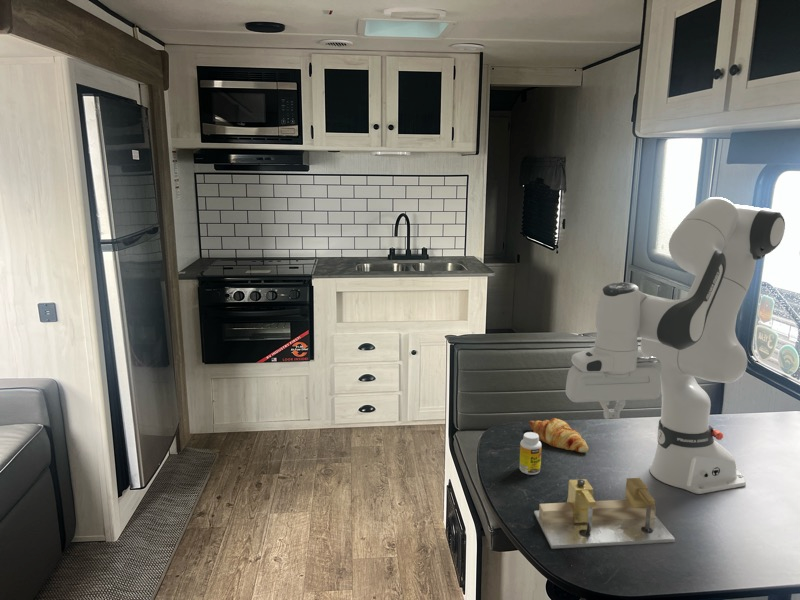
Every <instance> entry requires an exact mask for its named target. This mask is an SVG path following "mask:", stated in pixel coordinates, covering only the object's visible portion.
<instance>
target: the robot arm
mask: <svg viewBox="0 0 800 600" xmlns="http://www.w3.org/2000/svg"><path fill="white" fill-rule="evenodd" d="M785 229H786V222H785V218H784V216H783V214H782V213H781V212H779V211H778V210H774V209H771V208H767V207H763V208H762V207H756V206H755V207H754V206H750V205H742V204H741V205H740V204H734V203H733V202H731V201H730V200H728V199H727V198H725V197H724V198H723V197H719V196H718V197H717V196H715V197H709V198H706V199H704V200H702V202H700V203H698V204H697V205H696V206H695V207H694V208H693V209H692V210H691V211H690V212H689V213H688V214H687V215H685V217H684V218H683V220H682V221H681V222H680V223H679V224H678V226H677V227H676V228H675V230H674V231H673V232H672V234H671V236H670V238H669V241H668V251H669V255H670V257H671V259H672V260H673V262H674V263H675V264H676V265H677V266H678V267H679V268H680V269H682V270H683V271H685V272H688V274H689V273H690V274H691V275H693V276H695V277H694V280H693V282H692V284H691V286H690V289H689V290H688V292H687V295H686V296H685V297H683V298H680V299H671V298H666V297H662V296H661V297H660V296H657V295H656V296H655V295H651V294H647V293H644V292H642V291H640V289H639V286H637V284H634V283H632V282H625V281H624V282H623V281H622V282H614V283H613V282H612V283H609V284H607V285H605V286H603V287H602V289H601V290H600V294H599V296H598V301H597V304H596V305H597V306H596V313H595V314H596V315H595V328H596V337H595V340H594V346H592V347H590V348H587V349H584V350H581V351H578V352H576V353H575V352H574V353H573V354H572V355H571V362H572V364H573V365H571V367H570V368H569V369H568V372H567V376H566V383H565V395H566V396H567V398H568V399H569V400H570V401H571V402H573V403H591V402H593V403H594V402H595V403H596V402H598V403H599V404H600V406H601V409H603V418H604V419H606V420H616V419H620V415H621V414H620V413H621V412H622V410H623V409H624V408H625V406H626V403H627V401H639V400H642V401H643V400H657V399H658V398H659V397H660V396H661V411H660V413H661V414H660V419H659V421H658V426H657V446H656V450H655V453H654V457H653V460H652V462H651V465H650V467H649V472H650V474H651V475H652V476H653V477H654V478H655V479H657V481H660V482H662V483H664V484H667V485H670V486H672V487H676V488H680V489H683V490H686V491H688V492H691V493H693V494H697V495H699V494H701V495H702V494H706V493H713V492H718V491H719V492H720V491H723V490H729V489H735V488H740V487H745V486H746V482H747V481H746V480H747V479H746V478H745V476H744V474H743V473H741V471H740V470H739V469H738V468H737V464H736V460H735V458H734V456H733V455H732V453H730V452H729V450H727V449H726V448H725V447H724V446H722V445H721V444H720V443H719V442H717V441H716V440H718V441H720V440H723V439H724V433H722V431H720V430H718V429H714V427H712V426H711V425H710V416H711V415H710V414H711V405H712V403H711V399H710V396H709V395H708V393H707V392H706V391H705V390H704V389H703V388H702V387H701V386H700V385H699V384H698V382H697V380H696V379H695V378H699V379H701V380H704V381H708V382H712V383H713V382H715V383H723V384H732V383H735V382H736V381H738V380H739V379H740V378H741V377H742V376H743V375H744V374H745V372H746V370H747V367H748V356H747V355H748V354H747V353H746V350H745V348H744V347H743V345H742V344H741V343H740V341H739V340H738V337H737V334H736V333H737V332H736V319H737V316H738V314H739V313H740V310H741V306H742V304H743V301H744V300H745V297H746V295H747V293H748V291H749V288H750V286H751V283H752V281H753V277H754V274H755V270H756V265H757V261H758V260H761V259H763V258H764V257H765V256H766V255H768V254H770V253H771V252H772V251H773V252H774V250H775V249H776V248H777V247H778V246H779V245H780V244H781V242H782V241H783V240H782V239H783V237H784V236H785V235H784V234H785ZM638 338H641V340H640V351H641V354H642V356H641V357H640V356H638V353H639V342H638ZM613 401H614V402H616V403H615V405H614V407H613V408H609V407H608V406H610V402H613ZM714 438H715V439H716V440H715V439H714Z"/></svg>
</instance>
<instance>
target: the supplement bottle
mask: <svg viewBox="0 0 800 600" xmlns="http://www.w3.org/2000/svg"><path fill="white" fill-rule="evenodd" d="M522 438H523V439H521V441H520V442H519V470H520V471H521V473H523V474H526V475H532V476H533V475H537V474H539V473H540V472H541V468H542V467H541V466H542V449H543V448H542V446H543V445H542V442H541V440H540V439H539V435H538V434H536V433H534V432H533V431H527V432H525V433H524V434H523V437H522Z"/></svg>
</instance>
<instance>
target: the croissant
mask: <svg viewBox="0 0 800 600" xmlns="http://www.w3.org/2000/svg"><path fill="white" fill-rule="evenodd" d="M528 424H529V428H530V429H531V430H532V432H533V433H536V434H538V435H539V441H540V442H541V441H542V443H545V444H547V445H549V446H551V447H554V448H558V449H563V450H565V451H566V450H567V451H575V452H578V453H588V451H589V446H588V444H587V442H586V440H585V439H583V438H582V436H581V434H580V433H579V432H578V430H577V429H572V428H571V426H570V425H569V424H568V423H567V421H565V420H562V419H559V418H555V417H553V418H551V419H544V420H543V421H542V420H530V421H529V423H528Z"/></svg>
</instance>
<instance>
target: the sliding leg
mask: <svg viewBox="0 0 800 600" xmlns="http://www.w3.org/2000/svg"><path fill="white" fill-rule="evenodd" d="M596 501H597V500H595V498H594V488H593V487H592V485H591V483H590V482H589V481H588V479H587V478H585V479H584V478H583V479H582V478H580V479H569V480H568V493H567V501H566V503H567V502H570V504H571V505H572V507H573V508H574V519H573V521H574V523H582V522H587V532H588V533H591V526H592V515H593V510H592V509H593V507H596Z"/></svg>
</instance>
